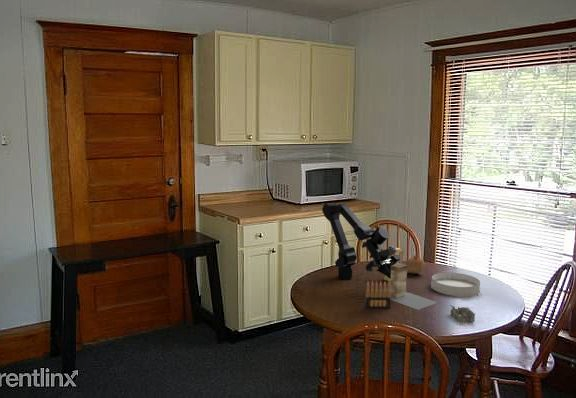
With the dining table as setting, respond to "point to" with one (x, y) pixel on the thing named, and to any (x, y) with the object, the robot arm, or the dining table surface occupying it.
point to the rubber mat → (412, 301)
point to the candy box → (400, 253)
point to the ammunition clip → (377, 296)
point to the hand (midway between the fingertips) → (392, 278)
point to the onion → (415, 264)
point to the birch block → (398, 280)
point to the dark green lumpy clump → (463, 314)
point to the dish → (456, 284)
